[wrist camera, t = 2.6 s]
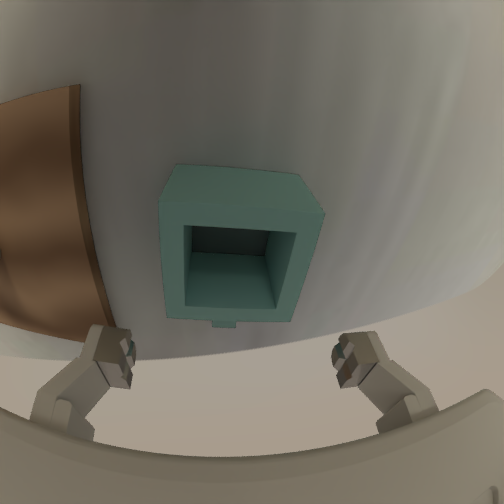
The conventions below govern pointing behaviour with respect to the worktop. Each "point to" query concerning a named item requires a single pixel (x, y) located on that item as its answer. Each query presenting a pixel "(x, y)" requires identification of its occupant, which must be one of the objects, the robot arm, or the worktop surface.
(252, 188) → the teal open cubby box
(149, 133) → the worktop surface
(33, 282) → the post board
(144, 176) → the worktop surface
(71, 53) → the worktop surface
